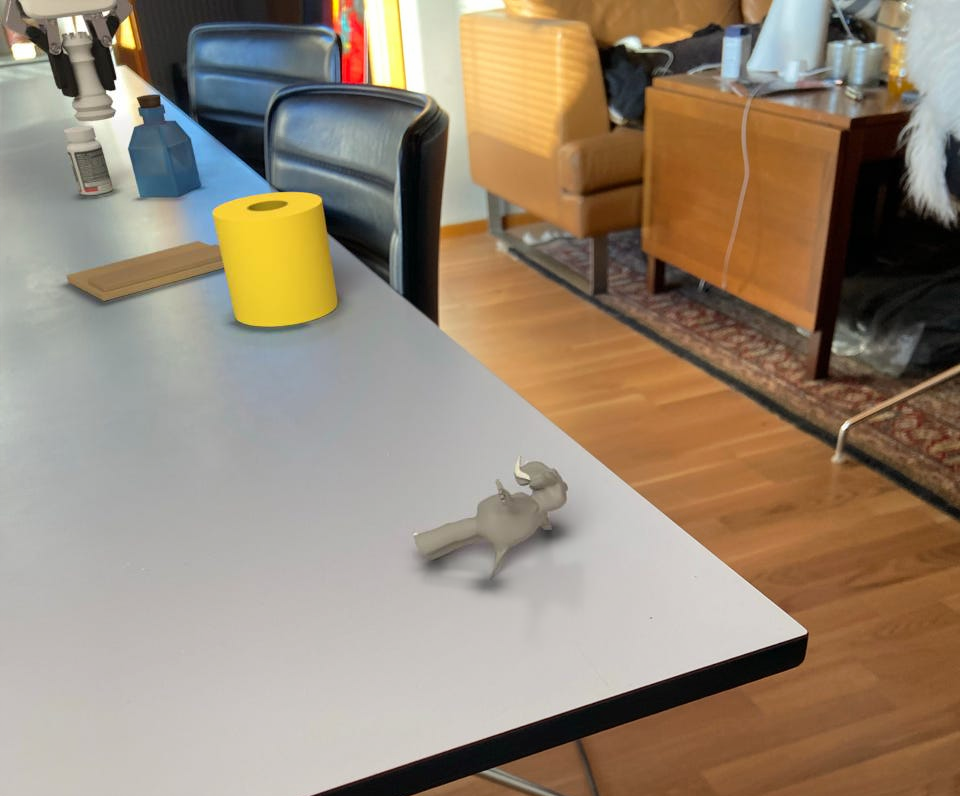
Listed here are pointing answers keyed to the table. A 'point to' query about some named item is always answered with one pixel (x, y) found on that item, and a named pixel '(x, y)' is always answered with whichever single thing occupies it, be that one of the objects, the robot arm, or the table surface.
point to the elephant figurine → (502, 515)
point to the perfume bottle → (161, 153)
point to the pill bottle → (87, 161)
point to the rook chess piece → (86, 80)
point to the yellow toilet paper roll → (276, 258)
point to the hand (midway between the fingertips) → (89, 91)
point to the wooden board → (148, 270)
